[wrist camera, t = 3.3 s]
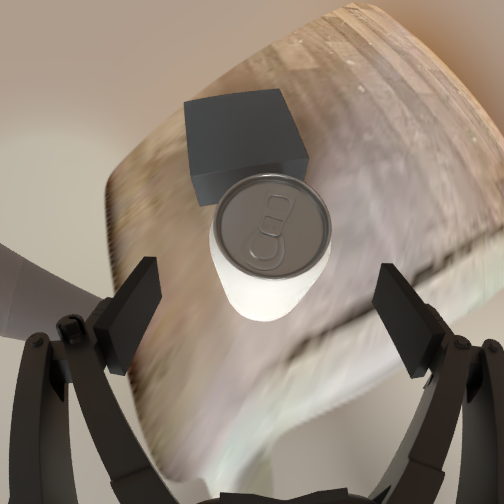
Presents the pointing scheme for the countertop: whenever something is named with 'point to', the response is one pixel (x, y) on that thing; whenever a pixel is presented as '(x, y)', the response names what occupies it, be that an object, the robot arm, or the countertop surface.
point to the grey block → (240, 141)
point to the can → (269, 243)
